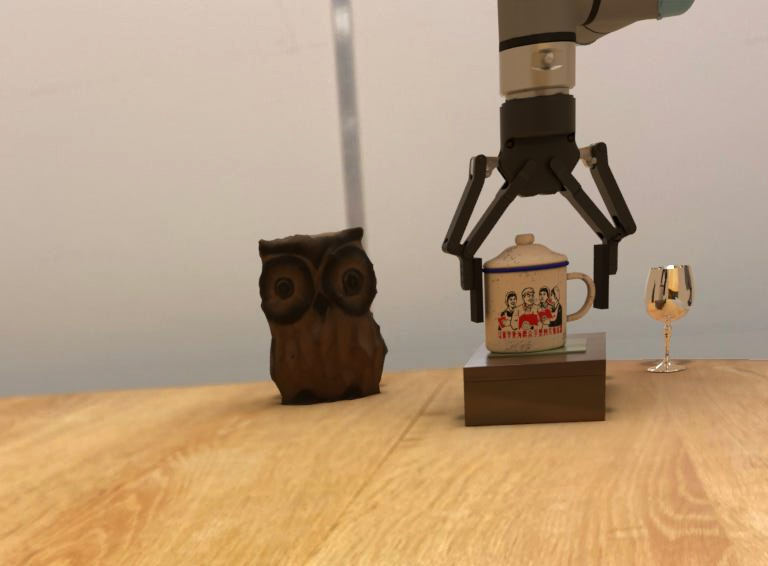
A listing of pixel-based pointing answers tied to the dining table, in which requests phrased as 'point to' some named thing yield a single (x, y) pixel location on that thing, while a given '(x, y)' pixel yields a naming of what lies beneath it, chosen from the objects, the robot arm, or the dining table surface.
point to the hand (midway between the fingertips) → (539, 315)
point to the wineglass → (668, 302)
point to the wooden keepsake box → (537, 384)
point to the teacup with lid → (529, 298)
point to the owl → (321, 317)
